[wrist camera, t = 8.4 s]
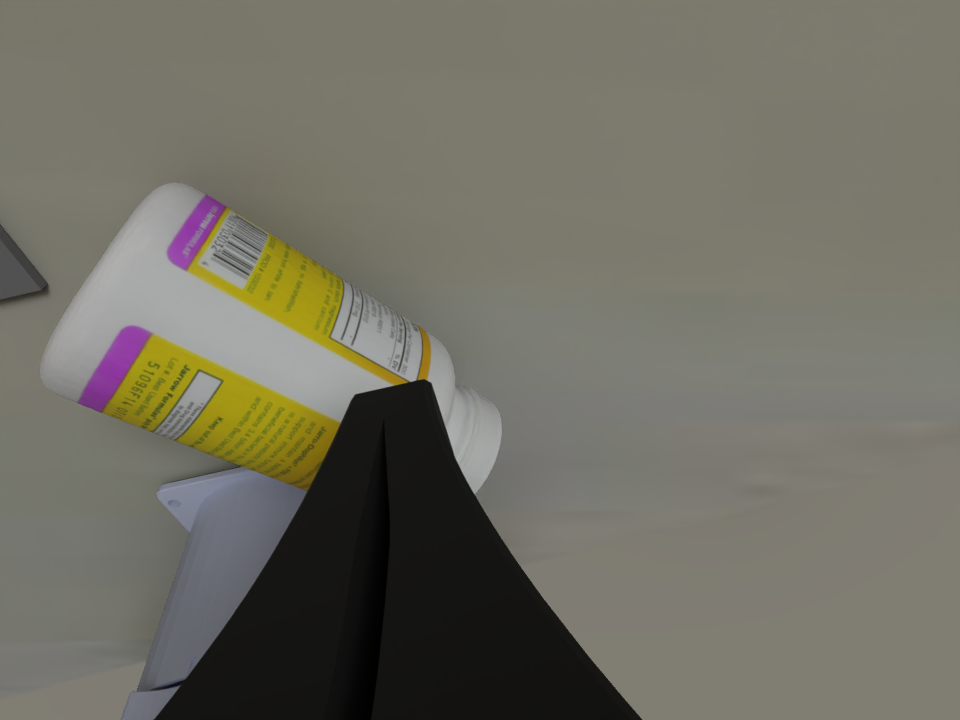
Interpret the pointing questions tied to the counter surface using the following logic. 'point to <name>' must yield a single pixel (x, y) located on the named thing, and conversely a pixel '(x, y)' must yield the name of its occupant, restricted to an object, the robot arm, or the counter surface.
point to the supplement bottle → (243, 344)
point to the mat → (16, 270)
